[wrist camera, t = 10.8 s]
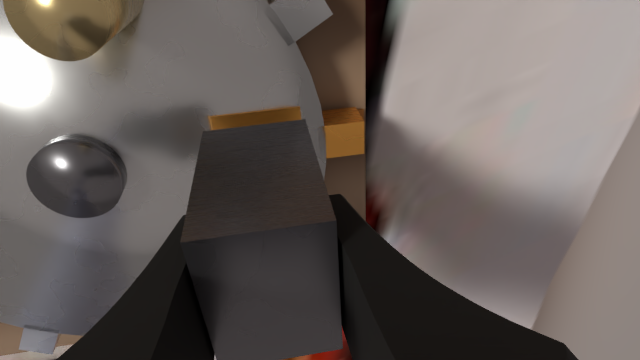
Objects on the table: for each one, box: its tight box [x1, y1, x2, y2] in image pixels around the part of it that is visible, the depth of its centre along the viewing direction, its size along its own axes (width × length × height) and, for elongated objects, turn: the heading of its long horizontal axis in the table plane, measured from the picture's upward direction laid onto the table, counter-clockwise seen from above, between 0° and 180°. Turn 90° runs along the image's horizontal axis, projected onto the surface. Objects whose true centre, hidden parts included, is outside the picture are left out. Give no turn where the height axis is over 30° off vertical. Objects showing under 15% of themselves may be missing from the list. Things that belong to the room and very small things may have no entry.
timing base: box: [0, 0, 366, 356], centre depth 17 cm, size 22×22×1 cm
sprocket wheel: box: [0, 0, 364, 354], centre depth 14 cm, size 21×21×6 cm
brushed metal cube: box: [180, 119, 343, 360], centre depth 11 cm, size 4×3×5 cm
